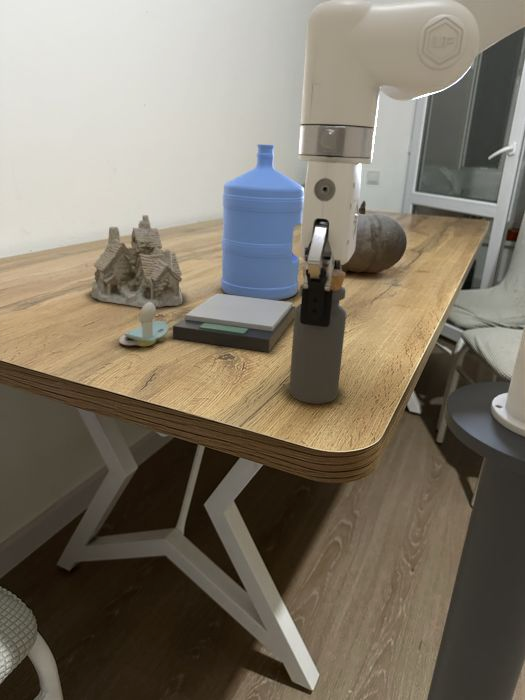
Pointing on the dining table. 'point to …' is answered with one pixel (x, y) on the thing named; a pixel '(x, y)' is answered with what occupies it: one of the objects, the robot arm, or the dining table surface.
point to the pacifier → (146, 328)
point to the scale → (236, 322)
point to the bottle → (318, 351)
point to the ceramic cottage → (137, 270)
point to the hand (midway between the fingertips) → (320, 314)
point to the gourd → (376, 243)
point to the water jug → (261, 232)
